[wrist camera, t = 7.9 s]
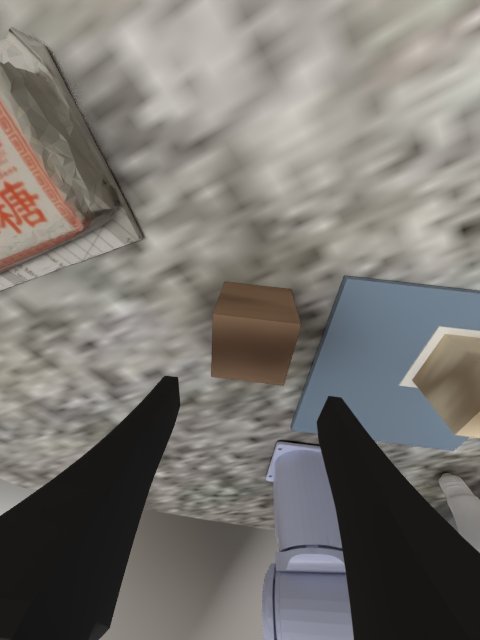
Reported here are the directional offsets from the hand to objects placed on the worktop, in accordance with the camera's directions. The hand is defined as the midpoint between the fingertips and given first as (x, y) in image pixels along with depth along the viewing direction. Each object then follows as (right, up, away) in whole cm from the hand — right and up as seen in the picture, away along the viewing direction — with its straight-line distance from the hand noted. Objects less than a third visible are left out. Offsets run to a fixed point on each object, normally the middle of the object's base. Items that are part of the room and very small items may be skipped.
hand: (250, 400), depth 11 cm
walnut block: (+1, +4, +7) cm, 8 cm away
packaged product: (-17, +12, +5) cm, 21 cm away
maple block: (+17, 0, +7) cm, 19 cm away
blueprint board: (+15, -2, +10) cm, 18 cm away
